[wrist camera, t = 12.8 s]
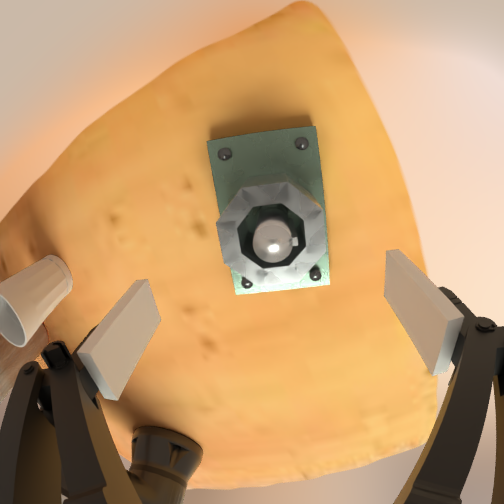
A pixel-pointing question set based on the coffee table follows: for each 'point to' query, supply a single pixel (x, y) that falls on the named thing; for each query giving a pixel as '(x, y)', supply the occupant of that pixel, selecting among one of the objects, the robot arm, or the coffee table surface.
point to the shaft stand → (275, 215)
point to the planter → (18, 358)
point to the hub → (241, 239)
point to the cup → (32, 298)
